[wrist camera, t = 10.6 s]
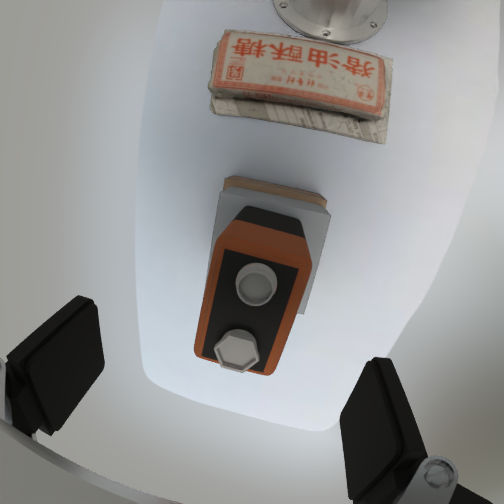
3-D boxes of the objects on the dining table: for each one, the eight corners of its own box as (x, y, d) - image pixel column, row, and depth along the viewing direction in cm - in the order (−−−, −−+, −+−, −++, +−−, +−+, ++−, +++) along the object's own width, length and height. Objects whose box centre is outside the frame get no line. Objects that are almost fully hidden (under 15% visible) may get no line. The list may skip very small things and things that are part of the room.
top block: (231, 186, 26) (220, 192, 21) (322, 205, 25) (331, 215, 21) (217, 270, 28) (204, 293, 23) (300, 288, 28) (303, 314, 23)
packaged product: (198, 108, 24) (216, 14, 21) (210, 115, 29) (225, 33, 26) (397, 144, 23) (406, 49, 20) (381, 146, 28) (390, 62, 25)
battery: (223, 288, 23) (185, 369, 14) (243, 202, 21) (210, 238, 12) (277, 303, 23) (271, 392, 14) (303, 219, 21) (319, 268, 12)
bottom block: (234, 175, 30) (225, 178, 26) (319, 194, 30) (326, 200, 25) (219, 256, 33) (208, 273, 28) (299, 274, 33) (302, 293, 28)
